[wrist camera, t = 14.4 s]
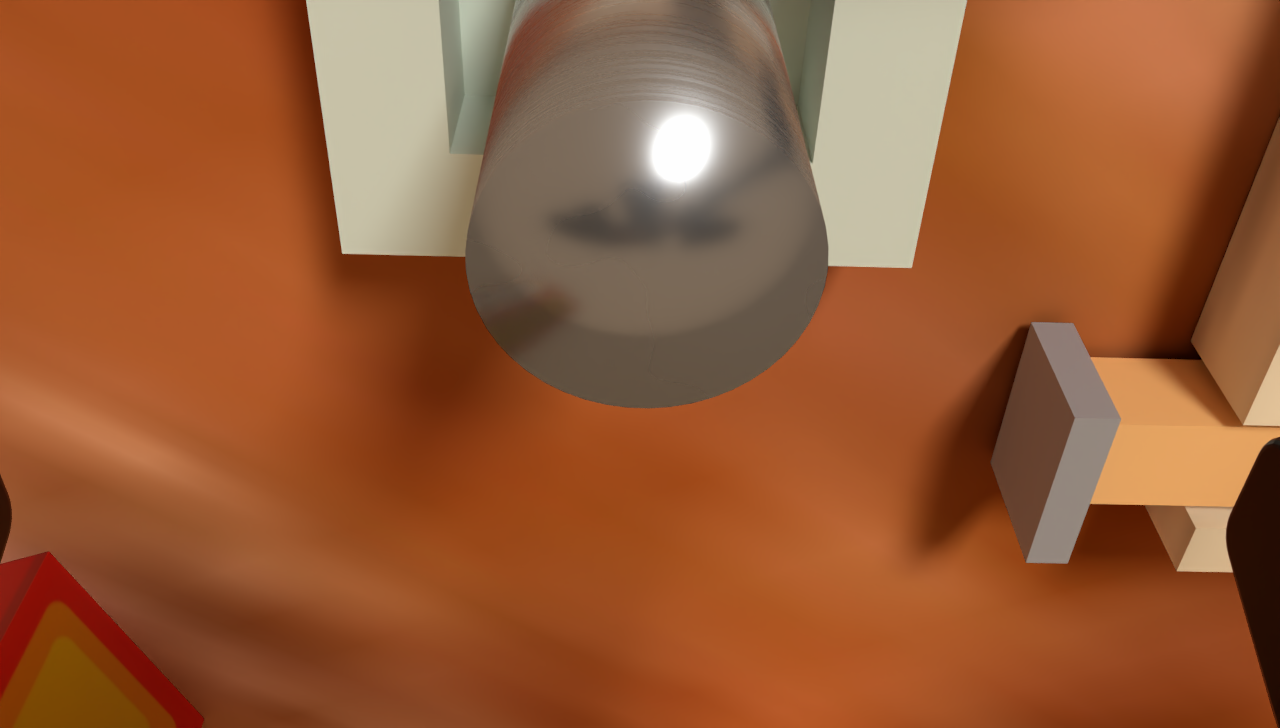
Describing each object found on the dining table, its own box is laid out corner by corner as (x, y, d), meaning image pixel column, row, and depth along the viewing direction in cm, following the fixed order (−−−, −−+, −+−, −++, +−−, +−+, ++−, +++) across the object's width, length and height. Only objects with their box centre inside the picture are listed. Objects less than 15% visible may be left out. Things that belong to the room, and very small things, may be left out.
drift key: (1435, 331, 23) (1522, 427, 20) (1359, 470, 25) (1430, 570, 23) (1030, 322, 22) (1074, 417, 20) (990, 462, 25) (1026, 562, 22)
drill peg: (785, -127, 17) (895, 179, 10) (695, 68, 19) (736, 444, 12) (576, -217, 16) (533, 44, 9) (504, -5, 18) (422, 350, 11)
